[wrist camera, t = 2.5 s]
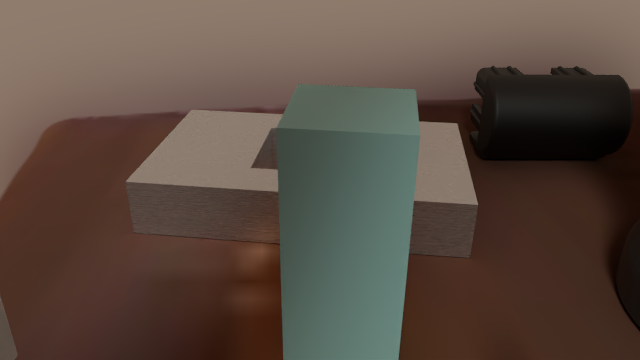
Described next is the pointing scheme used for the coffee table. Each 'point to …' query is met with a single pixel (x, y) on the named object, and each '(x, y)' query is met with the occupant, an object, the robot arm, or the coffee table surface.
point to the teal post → (345, 219)
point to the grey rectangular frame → (262, 184)
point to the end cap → (550, 114)
